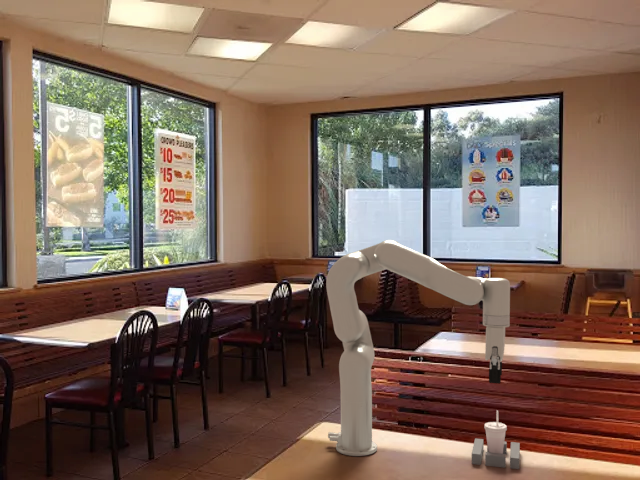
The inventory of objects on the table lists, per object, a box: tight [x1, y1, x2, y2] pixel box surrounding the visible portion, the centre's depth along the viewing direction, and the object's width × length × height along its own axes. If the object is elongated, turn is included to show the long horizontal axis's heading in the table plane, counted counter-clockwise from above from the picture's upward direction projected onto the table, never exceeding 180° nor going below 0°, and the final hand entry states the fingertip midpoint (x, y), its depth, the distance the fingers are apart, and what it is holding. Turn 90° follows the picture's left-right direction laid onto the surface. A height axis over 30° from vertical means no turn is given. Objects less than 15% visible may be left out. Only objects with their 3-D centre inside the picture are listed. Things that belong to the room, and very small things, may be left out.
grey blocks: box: [471, 437, 521, 470], centre depth 182 cm, size 13×13×3 cm
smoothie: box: [484, 410, 508, 454], centre depth 182 cm, size 6×6×14 cm
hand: (495, 378), depth 181 cm, fingers open, 9 cm apart
